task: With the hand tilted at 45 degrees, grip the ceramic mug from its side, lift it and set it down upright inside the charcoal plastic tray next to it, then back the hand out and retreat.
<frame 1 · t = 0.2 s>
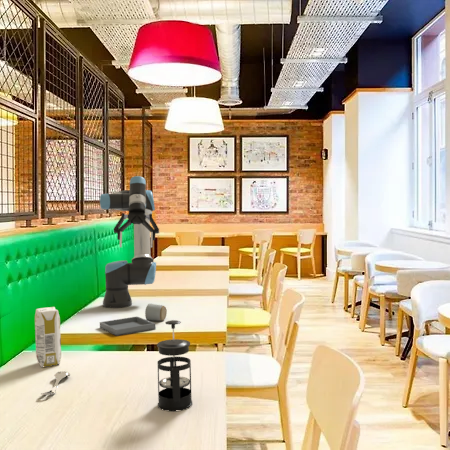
hand: (136, 245, 243), 35 cm above the table, tool tilted 35°, fingers open, 13 cm apart
ceramic mug: (157, 320, 254), on the table
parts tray: (127, 328, 237), on the table
grey elongated piece: (55, 389, 165), on the table
french press: (175, 406, 148), on the table
juice carton: (48, 364, 188), on the table
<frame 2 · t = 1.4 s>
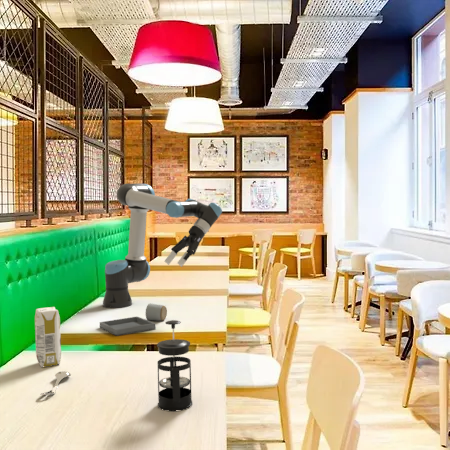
hand: (172, 263, 257), 25 cm above the table, tool tilted 45°, fingers open, 13 cm apart
nothing on the table moved.
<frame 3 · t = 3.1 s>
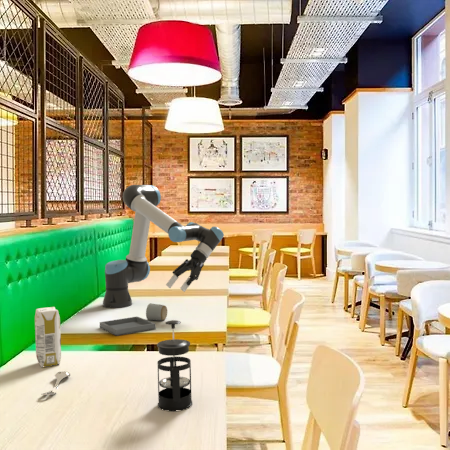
hand: (174, 288, 258), 14 cm above the table, tool tilted 45°, fingers open, 13 cm apart
nothing on the table moved.
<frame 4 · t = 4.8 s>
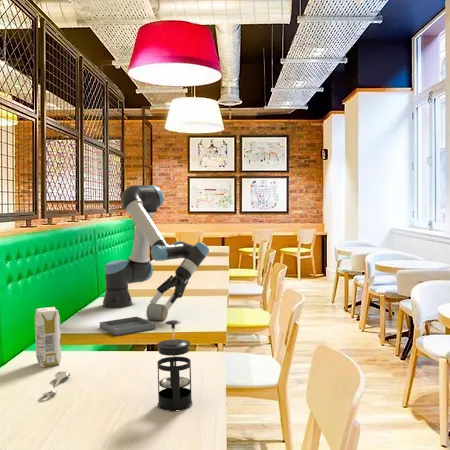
hand: (158, 305, 253), 6 cm above the table, tool tilted 45°, fingers open, 13 cm apart
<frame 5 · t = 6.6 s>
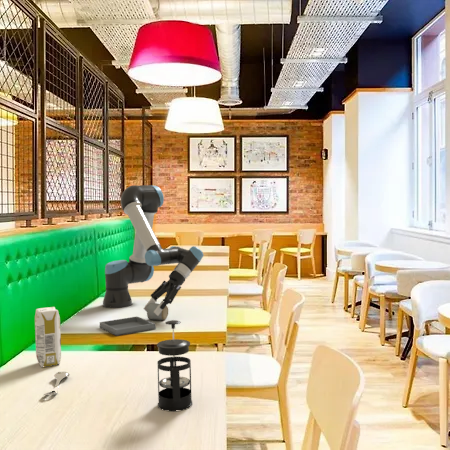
hand: (150, 312, 251), 4 cm above the table, tool tilted 45°, fingers closed on ceramic mug, 9 cm apart
ceramic mug: (158, 319, 255), on the table, touching gripper
everything else where it was.
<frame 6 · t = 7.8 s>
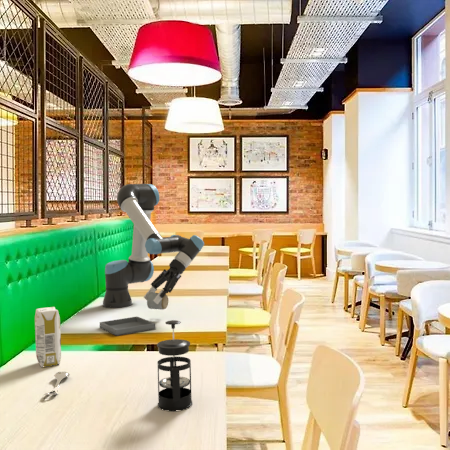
hand: (150, 300, 251), 9 cm above the table, tool tilted 45°, fingers closed on ceramic mug, 9 cm apart
ceramic mug: (158, 308, 255), point 5 cm above the table, touching gripper
everything else where it was.
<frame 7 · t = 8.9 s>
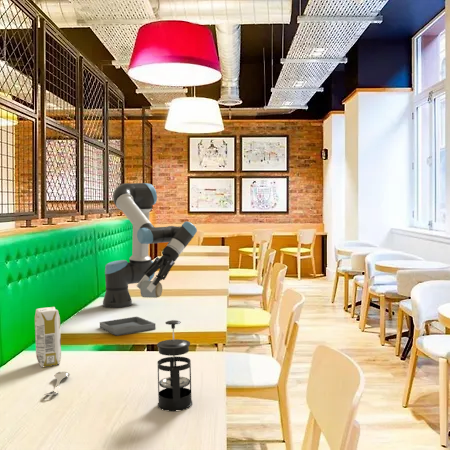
hand: (143, 289, 245), 16 cm above the table, tool tilted 45°, fingers closed on ceramic mug, 9 cm apart
ceramic mug: (152, 297, 249), point 11 cm above the table, touching gripper
everything else where it was.
when the fingers open (6 cm above the table, at t = 12.4 s): ceramic mug moves 1 cm, resting on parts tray.
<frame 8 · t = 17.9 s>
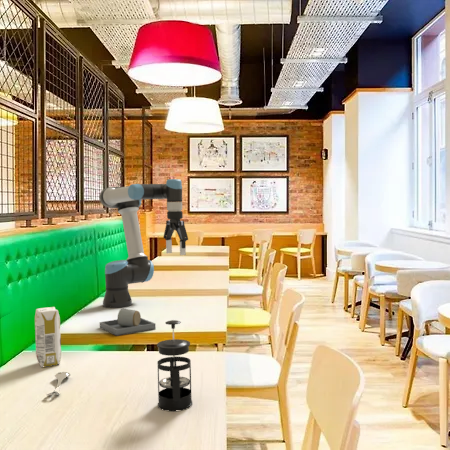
hand: (175, 254, 268), 29 cm above the table, tool pointing down, fingers open, 13 cm apart
ceramic mug: (130, 326, 240), resting on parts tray
at the end: ceramic mug inside the target area on the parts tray (2.7 cm from its centre), point 0.4 cm above the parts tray's base; ceramic mug tilted 1°; the gripper is holding nothing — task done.
